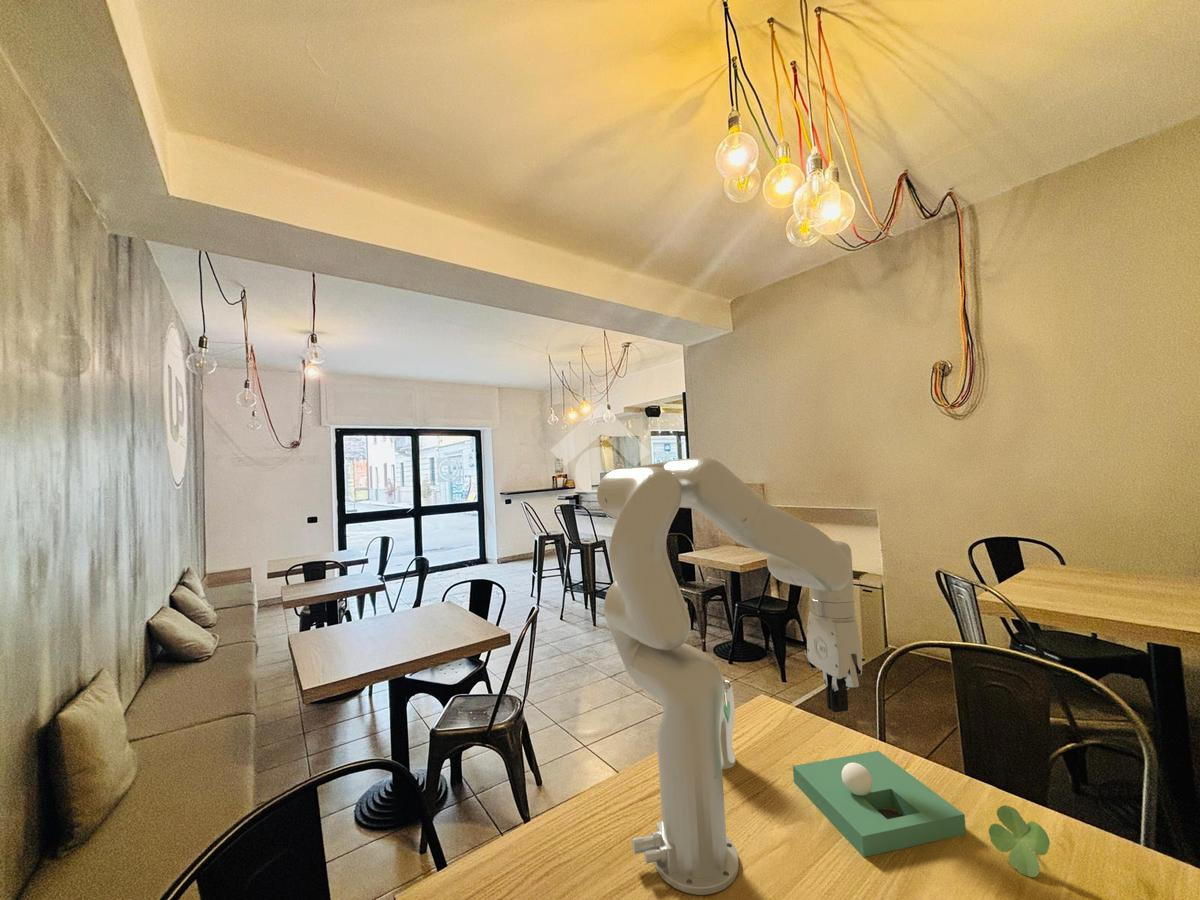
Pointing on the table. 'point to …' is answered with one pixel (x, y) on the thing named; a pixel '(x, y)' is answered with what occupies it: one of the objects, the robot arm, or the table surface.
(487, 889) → the table surface
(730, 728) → the white bottle
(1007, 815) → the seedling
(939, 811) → the putting board
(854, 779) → the ball
